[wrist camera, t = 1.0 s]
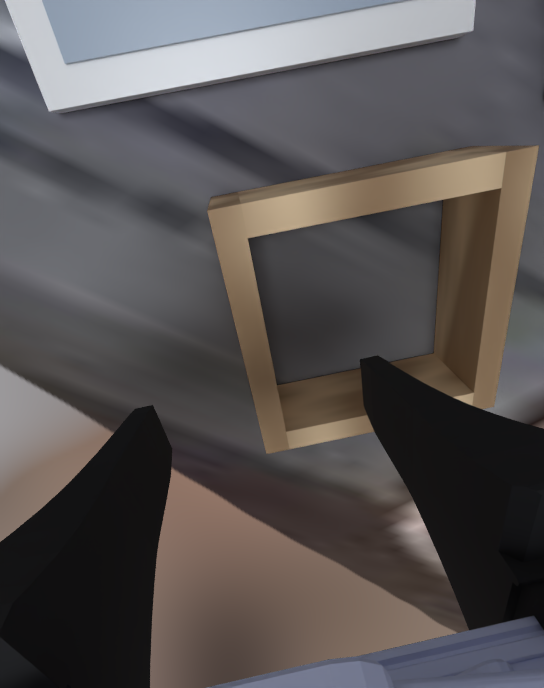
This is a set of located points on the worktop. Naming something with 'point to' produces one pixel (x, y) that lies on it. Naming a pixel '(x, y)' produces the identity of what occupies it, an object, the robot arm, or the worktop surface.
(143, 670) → the robot arm
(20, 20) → the post stand
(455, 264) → the wood collar
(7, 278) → the worktop surface
